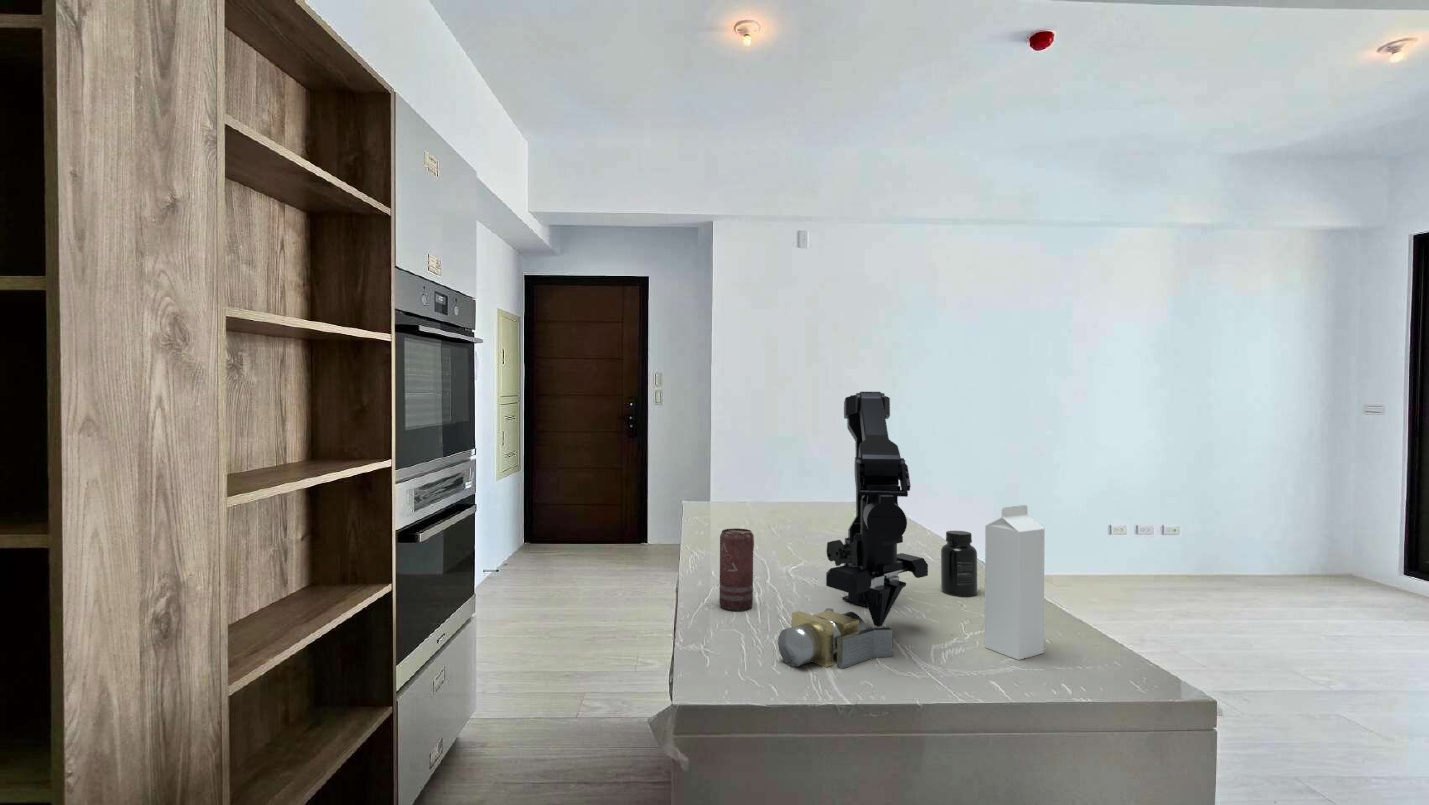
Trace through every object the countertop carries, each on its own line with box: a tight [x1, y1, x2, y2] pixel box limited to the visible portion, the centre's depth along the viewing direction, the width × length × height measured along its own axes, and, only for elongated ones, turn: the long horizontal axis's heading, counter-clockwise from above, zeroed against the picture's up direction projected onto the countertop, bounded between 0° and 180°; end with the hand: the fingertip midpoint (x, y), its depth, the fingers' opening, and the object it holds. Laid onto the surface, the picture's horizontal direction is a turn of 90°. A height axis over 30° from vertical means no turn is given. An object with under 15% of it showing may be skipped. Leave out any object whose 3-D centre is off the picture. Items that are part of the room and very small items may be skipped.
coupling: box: [777, 607, 893, 670], centre depth 99 cm, size 15×13×6 cm
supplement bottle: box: [940, 530, 978, 597], centre depth 133 cm, size 7×7×12 cm
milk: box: [984, 504, 1046, 661], centre depth 101 cm, size 6×6×22 cm
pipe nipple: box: [813, 610, 867, 659], centre depth 100 cm, size 8×6×5 cm
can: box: [718, 527, 755, 612], centre depth 122 cm, size 6×6×14 cm
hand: (878, 625), depth 107 cm, fingers closed
